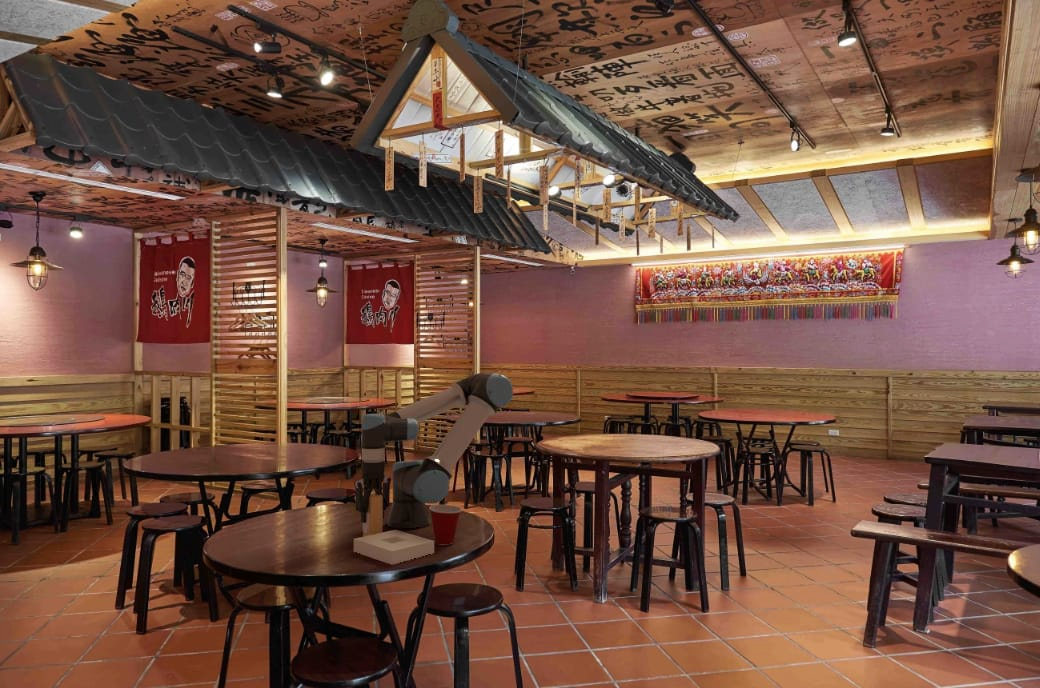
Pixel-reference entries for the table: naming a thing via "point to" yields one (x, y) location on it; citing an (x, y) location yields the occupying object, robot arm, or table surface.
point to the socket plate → (393, 546)
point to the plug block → (374, 514)
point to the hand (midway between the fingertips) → (372, 530)
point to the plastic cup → (445, 522)
